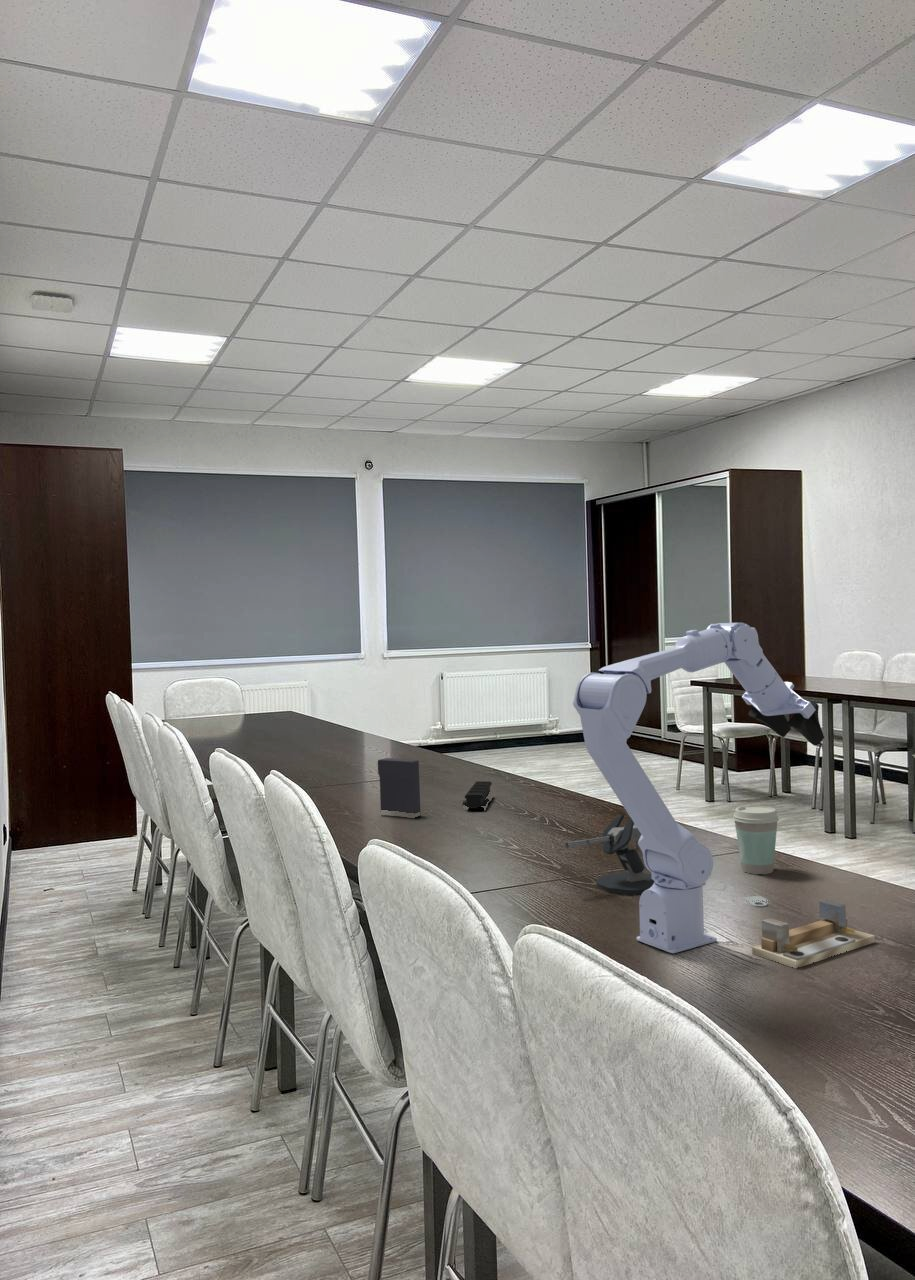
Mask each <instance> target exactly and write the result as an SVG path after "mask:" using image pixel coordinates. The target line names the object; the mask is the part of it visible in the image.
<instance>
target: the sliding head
mask: <svg viewBox="0 0 915 1280" xmlns="http://www.w3.org/2000/svg"><path fill="white" fill-rule="evenodd" d="M818 904H819V906H818V907H819V909H818V910H819V918H820V919H823V920H824V919H828V920H831V921H834V923H835V931H838V932H840V931H846V932H849V933H852V934H853V933H855V930H856V929H854V928H851V927H848V926H847V927H846V919H847V913H846V912H847V908H846V907H847V906H846V903H845V904H844V903H841V902H838V901H834V900H829V899H824V900H820V901H819V903H818Z"/></svg>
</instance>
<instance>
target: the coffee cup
mask: <svg viewBox="0 0 915 1280" xmlns="http://www.w3.org/2000/svg"><path fill="white" fill-rule="evenodd" d="M733 813H734V814H733V816H732V817H733V818H732V820H734V824H735V825H734V826H735V833H736V839H737V846H738V847H737V848H738V854H739V861H740V866H741V871H742V872H743V871H744V872H743V873H745V872H747V873H746V874H749V873H752V874H751V875H757V874H763V875H768V874H769V873H770V874H772V873H773V872H774V865H775V863H774V862H775V855H776V843H777V842H776V840H777V830H778V829H777V828H778V822H779V821H780V819H779V815H778V813H777V810H776V809H775V808H774V807H772V806H771V807H770V806H766V805H764V806H763V805H744V806H738V807H736V808H735V810H734V812H733ZM770 874H769V875H770Z"/></svg>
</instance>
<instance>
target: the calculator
mask: <svg viewBox="0 0 915 1280" xmlns="http://www.w3.org/2000/svg"><path fill="white" fill-rule="evenodd" d="M419 762H420V761H419V760H418V759H409V758H408V759H407V758H393V757H392V758H389V757H385V758H381V759H378V760H377V773H378V776H379V793H380V794H379V798H380V811H381V810H388V811H399V812H406V813H414V814H415V813H418V812H420V813H421V794H420V793H421V789H420V763H419Z"/></svg>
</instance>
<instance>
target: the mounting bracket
mask: <svg viewBox="0 0 915 1280" xmlns="http://www.w3.org/2000/svg"><path fill="white" fill-rule="evenodd" d="M749 897H750V898H749ZM736 898H737V899H738V898H739V900H740V899H741V901H742V898H743V900H744V899H745V901H742V902H744V903H746V904H747V902H746V900H747V901H749V902H750V906H751V907H755V908H767V907H768V904H769V903H768V902H767V903H765V902H766V899H767V898H766V897H763V896H760V895H753V896H752V895H751V896H742V897H736ZM731 899H732V900H733V898H731ZM732 900H731V901H732ZM739 900H738V901H739ZM752 900H753V902H752ZM756 900H757V901H756ZM758 900H759V901H758ZM762 900H763V901H765V902H762ZM768 900H769V899H767V901H768ZM741 901H740V902H741ZM754 901H755V902H754ZM760 901H761V902H760ZM749 902H748V903H749ZM740 904H741V903H740ZM747 906H749V904H748V905H747Z"/></svg>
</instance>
